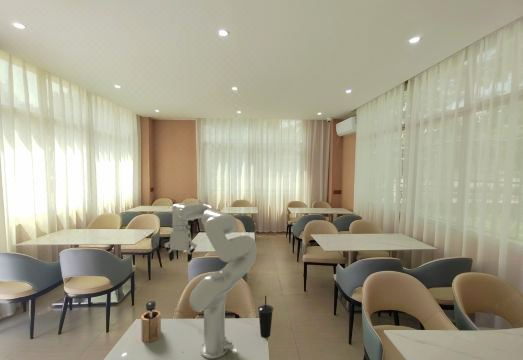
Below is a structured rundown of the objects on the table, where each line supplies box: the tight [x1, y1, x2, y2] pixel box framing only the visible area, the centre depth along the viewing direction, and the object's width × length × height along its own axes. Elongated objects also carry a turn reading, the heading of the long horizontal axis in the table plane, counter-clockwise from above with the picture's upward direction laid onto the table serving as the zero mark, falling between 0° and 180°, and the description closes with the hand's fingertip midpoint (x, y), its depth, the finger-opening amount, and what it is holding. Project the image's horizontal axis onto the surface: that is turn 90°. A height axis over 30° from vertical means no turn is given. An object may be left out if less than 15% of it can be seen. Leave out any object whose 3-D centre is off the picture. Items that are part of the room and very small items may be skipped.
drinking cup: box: [257, 295, 274, 339], centre depth 131 cm, size 8×8×20 cm
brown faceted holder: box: [140, 309, 162, 343], centre depth 130 cm, size 9×10×11 cm
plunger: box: [145, 300, 157, 319], centre depth 129 cm, size 5×5×15 cm
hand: (180, 260), depth 134 cm, fingers open, 9 cm apart
